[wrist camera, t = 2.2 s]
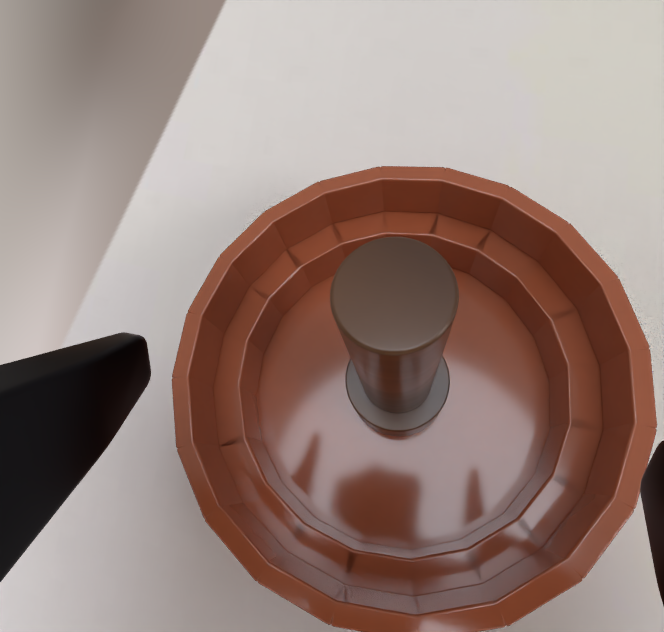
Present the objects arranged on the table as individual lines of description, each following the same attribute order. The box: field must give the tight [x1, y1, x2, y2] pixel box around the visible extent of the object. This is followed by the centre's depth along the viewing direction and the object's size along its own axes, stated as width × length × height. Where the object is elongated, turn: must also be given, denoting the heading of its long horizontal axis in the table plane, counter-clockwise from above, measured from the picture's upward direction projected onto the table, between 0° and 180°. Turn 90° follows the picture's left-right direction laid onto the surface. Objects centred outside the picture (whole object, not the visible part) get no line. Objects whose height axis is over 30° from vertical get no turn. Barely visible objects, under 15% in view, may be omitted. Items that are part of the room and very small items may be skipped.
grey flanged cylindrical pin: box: [330, 237, 459, 436], centre depth 13 cm, size 4×4×10 cm
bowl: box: [172, 166, 657, 632], centre depth 16 cm, size 14×14×5 cm
